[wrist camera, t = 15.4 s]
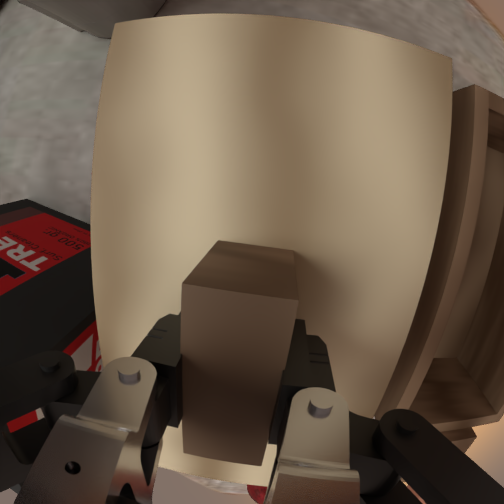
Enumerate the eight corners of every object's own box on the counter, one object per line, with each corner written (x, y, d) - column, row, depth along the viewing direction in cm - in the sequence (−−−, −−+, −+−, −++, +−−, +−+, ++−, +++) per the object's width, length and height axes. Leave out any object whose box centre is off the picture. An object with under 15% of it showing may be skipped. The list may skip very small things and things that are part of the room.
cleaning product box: (22, 275, 28) (-110, 357, 9) (26, 198, 25) (-137, 252, 6) (145, 336, 28) (31, 502, 9) (163, 252, 25) (-17, 414, 6)
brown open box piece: (341, 397, 28) (358, 486, 17) (406, 109, 20) (487, 80, 10) (438, 396, 27) (475, 467, 17) (511, 148, 20) (596, 154, 9)
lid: (136, 432, 17) (99, 502, 11) (137, 40, 11) (55, -17, 5) (329, 463, 16) (336, 542, 10) (428, 72, 10) (513, 25, 4)
